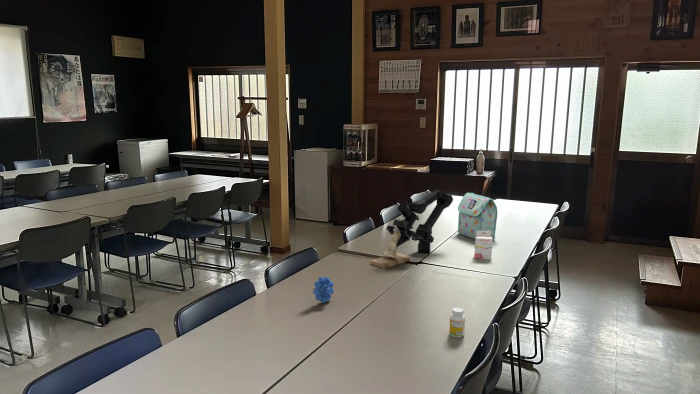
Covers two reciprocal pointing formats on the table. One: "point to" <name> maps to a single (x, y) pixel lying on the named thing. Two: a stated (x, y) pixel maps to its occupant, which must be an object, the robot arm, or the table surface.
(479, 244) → the ink cartridge box
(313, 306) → the table surface
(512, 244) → the table surface
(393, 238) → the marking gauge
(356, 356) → the table surface
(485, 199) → the lunch bag
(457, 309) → the supplement bottle
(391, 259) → the oak board
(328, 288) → the blue knobbly wheel
